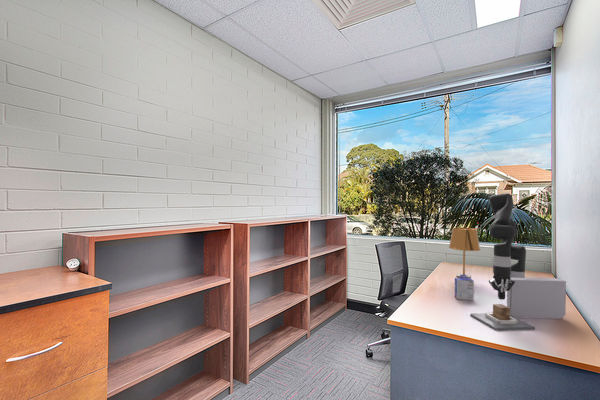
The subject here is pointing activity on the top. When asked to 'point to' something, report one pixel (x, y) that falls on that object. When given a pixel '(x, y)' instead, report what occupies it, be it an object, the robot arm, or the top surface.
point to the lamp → (464, 243)
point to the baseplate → (502, 322)
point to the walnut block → (501, 312)
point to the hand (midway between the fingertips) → (501, 299)
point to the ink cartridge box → (464, 288)
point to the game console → (537, 298)
